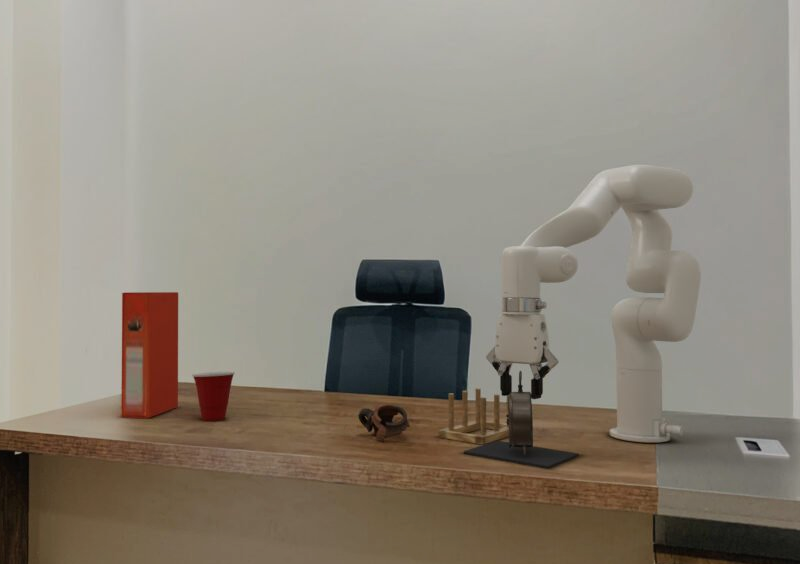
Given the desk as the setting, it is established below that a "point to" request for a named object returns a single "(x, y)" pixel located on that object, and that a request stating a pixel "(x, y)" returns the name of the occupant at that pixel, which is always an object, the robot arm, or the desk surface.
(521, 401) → the alarm clock
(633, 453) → the desk surface
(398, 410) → the pottery mug
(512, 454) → the desk mat
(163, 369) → the file binder
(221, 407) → the plastic cup
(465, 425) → the dowel rack
